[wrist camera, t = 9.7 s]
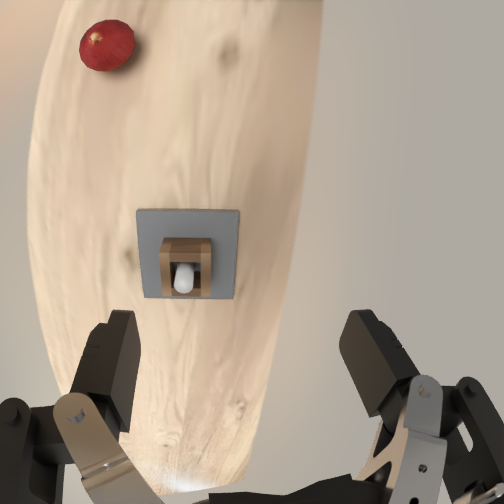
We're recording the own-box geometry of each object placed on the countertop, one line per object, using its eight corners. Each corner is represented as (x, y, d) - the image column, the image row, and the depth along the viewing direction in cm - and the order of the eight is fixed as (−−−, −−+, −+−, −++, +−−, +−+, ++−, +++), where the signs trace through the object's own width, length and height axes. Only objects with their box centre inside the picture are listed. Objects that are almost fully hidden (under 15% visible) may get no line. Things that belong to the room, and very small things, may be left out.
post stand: (137, 208, 33) (122, 231, 26) (238, 210, 34) (244, 233, 28) (145, 293, 38) (136, 326, 32) (232, 294, 40) (237, 328, 33)
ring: (164, 237, 34) (159, 252, 30) (210, 237, 34) (211, 253, 31) (166, 277, 36) (162, 296, 33) (210, 278, 37) (210, 296, 33)
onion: (85, 64, 24) (53, 54, 17) (112, 23, 22) (87, 2, 15) (123, 82, 26) (97, 74, 19) (151, 39, 24) (134, 19, 17)
